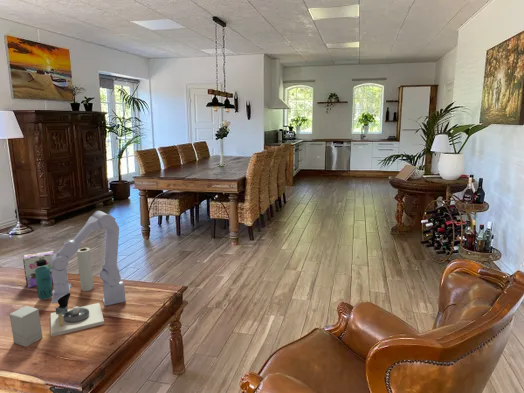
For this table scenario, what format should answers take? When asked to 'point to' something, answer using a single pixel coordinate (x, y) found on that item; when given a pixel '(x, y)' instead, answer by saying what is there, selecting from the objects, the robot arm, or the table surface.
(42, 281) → the beverage bottle
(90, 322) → the base plate
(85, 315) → the flange
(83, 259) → the paper towel roll
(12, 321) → the supplement box
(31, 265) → the candy box
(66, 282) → the robot arm
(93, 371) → the table surface
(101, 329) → the table surface
